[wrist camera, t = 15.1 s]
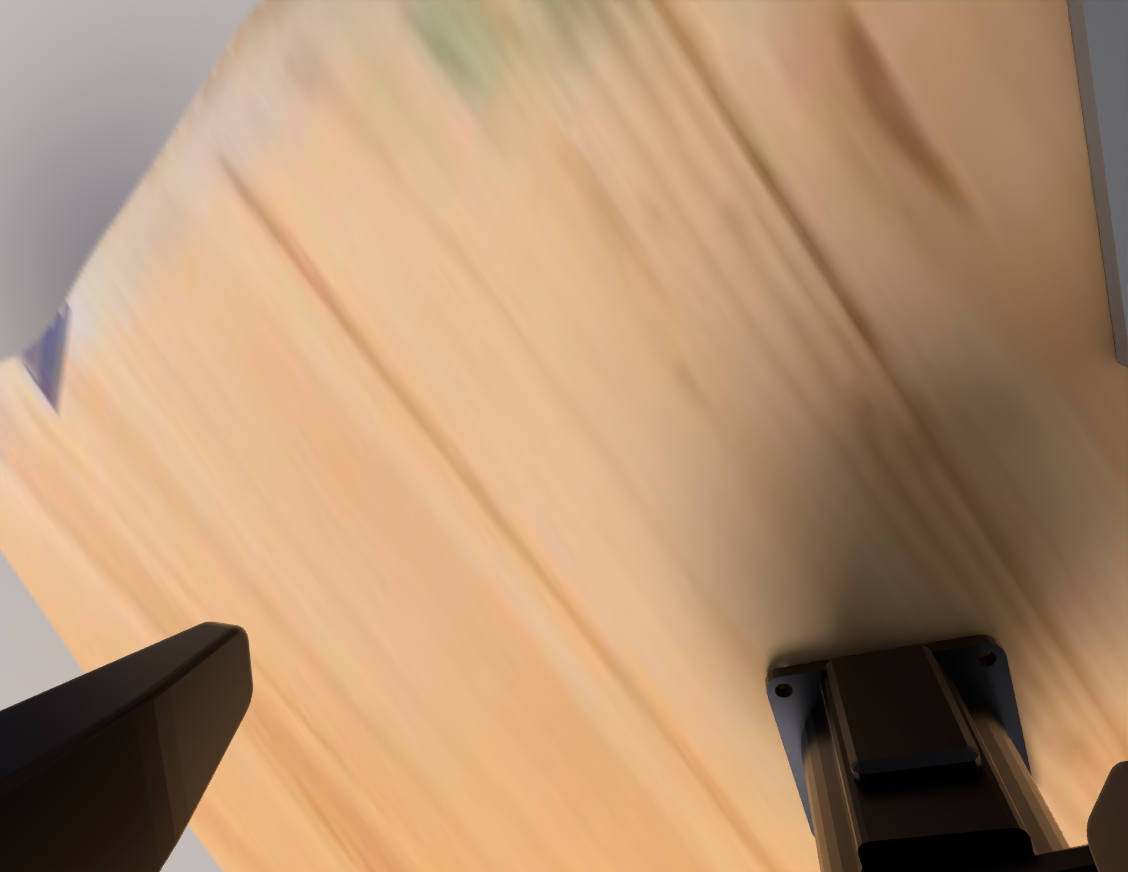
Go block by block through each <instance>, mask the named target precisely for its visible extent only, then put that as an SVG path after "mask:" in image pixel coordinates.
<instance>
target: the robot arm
mask: <svg viewBox="0 0 1128 872" xmlns="http://www.w3.org/2000/svg"><path fill="white" fill-rule="evenodd" d="M983 651H991V652H990V653H989V655H988V656H985V657H977V655H978V654H979V653H980V652H983ZM765 680H766V690H767V695H768V698H769V701H770V705H771V708H772V711H773V714H774V717H775V720H776V723H777V726H778V729H779V732H780V736H781V739H782V742H783V745H784V748H785V751H786V754H787V757H788V760H789V764H790V767H791V770H792V773H793V776H794V779H795V782H796V785H797V788H798V791H799V795H800V798H801V801H802V804H803V807H804V810H805V813H806V816H807V819H808V822H809V826H810V829H811V832H812V834H813V835H814V837H815V840H816V846H817V852H818V858H819V864H820V870H821V872H1128V761H1123V762H1119V763H1118V764H1116V765H1115V766H1114V767H1113V768H1112V770H1111V771H1110V773H1109V775H1108V778H1107V780H1106V782H1105V784H1104V786H1103V788H1102V790H1101V793H1100V795H1099V797H1098V799H1097V801H1096V803H1095V806H1094V808H1093V810H1092V812H1091V814H1090V816H1089V819H1088V824H1087V839H1088V844H1087V845H1082V846H1077V847H1072V848H1070V847H1069V845H1068V843H1067V841H1066V839H1065V837H1064V836H1063V834H1062V832H1061V830H1060V828H1059V826H1058V825H1057V823H1056V821H1055V819H1054V817H1053V815H1052V814H1051V812H1050V810H1049V808H1048V806H1047V804H1046V802H1045V801H1044V799H1043V797H1042V795H1041V793H1040V791H1039V790H1038V788H1037V786H1036V784H1035V782H1034V780H1033V779H1032V776H1031V772H1030V767H1029V762H1028V757H1027V752H1026V748H1025V743H1024V738H1023V733H1022V728H1021V724H1020V719H1019V714H1018V709H1017V704H1016V700H1015V695H1014V690H1013V685H1012V680H1011V676H1010V671H1009V666H1008V661H1007V656H1006V654H1005V652H1004V650H1003V648H1002V647H1001V645H1000V644H999V642H998V641H997V640H996V639H995V638H993V637H991V636H988V635H974V636H968V637H962V638H956V639H950V640H944V641H938V642H932V643H926V644H920V645H912V646H906V647H900V648H894V649H888V650H882V651H876V652H870V653H864V654H858V655H852V656H846V657H840V658H834V659H831V660H825V661H819V662H813V663H807V664H801V665H795V666H789V667H783V668H777V669H775V670H772V671H771V672H770V673H768V675H767V677H766V679H765ZM779 684H788V685H790V686H789V687H788V688H785V689H780V688H778V687H776V686H777V685H779ZM252 692H253V680H252V670H251V660H250V650H249V640H248V635H247V633H246V631H245V630H244V629H243V628H242V627H240V626H238V625H231V624H225V623H218V622H204V623H202V624H199V625H197V626H195V627H192V628H190V629H188V630H185V631H183V632H181V633H178V634H176V635H174V636H172V637H169V638H167V639H165V640H162V641H160V642H158V643H155V644H153V645H151V646H149V647H146V648H144V649H142V650H139V651H137V652H135V653H132V654H130V655H128V656H125V657H123V658H121V659H119V660H116V661H114V662H112V663H109V664H107V665H105V666H102V667H100V668H98V669H96V670H93V671H91V672H89V673H86V674H84V675H82V676H79V677H77V678H75V679H72V680H70V681H68V682H66V683H63V684H61V685H59V686H56V687H54V688H52V689H49V690H47V691H45V692H43V693H40V694H38V695H36V696H33V697H31V698H29V699H26V700H24V701H22V702H20V703H17V704H15V705H13V706H11V707H8V708H6V709H3V710H1V711H0V872H160V870H161V868H162V867H163V865H164V864H165V862H166V860H167V859H168V857H169V856H170V854H171V852H172V851H173V849H174V847H175V846H176V844H177V843H178V841H179V839H180V837H181V835H182V834H183V832H184V830H185V828H186V826H187V825H188V823H189V821H190V819H191V817H192V815H193V813H194V811H195V809H196V808H197V806H198V804H199V802H200V800H201V798H202V796H203V794H204V792H205V790H206V788H207V786H208V785H209V783H210V781H211V779H212V777H213V775H214V773H215V771H216V769H217V767H218V765H219V763H220V762H221V760H222V758H223V756H224V754H225V752H226V750H227V748H228V746H229V744H230V742H231V740H232V739H233V737H234V735H235V733H236V731H237V729H238V727H239V725H240V723H241V721H242V719H243V717H244V716H245V714H246V712H247V709H248V707H249V704H250V702H251V698H252Z"/></svg>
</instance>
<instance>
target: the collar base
mask: <svg viewBox="0 0 1128 872" xmlns="http://www.w3.org/2000/svg"><path fill="white" fill-rule="evenodd" d="M1067 3H1068V10H1069V17H1070V25H1071V32H1072V39H1073V46H1074V53H1075V60H1076V68H1077V75H1078V82H1079V89H1080V96H1081V104H1082V111H1083V118H1084V125H1085V132H1086V140H1087V147H1088V154H1089V161H1090V168H1091V176H1092V183H1093V190H1094V197H1095V204H1096V212H1097V219H1098V226H1099V233H1100V240H1101V248H1102V255H1103V262H1104V269H1105V276H1106V284H1107V291H1108V298H1109V305H1110V312H1111V319H1112V327H1113V334H1114V341H1115V348H1116V355H1117V362H1118V363H1120V364H1122V365H1124V366H1126V367H1128V0H1067Z"/></svg>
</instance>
